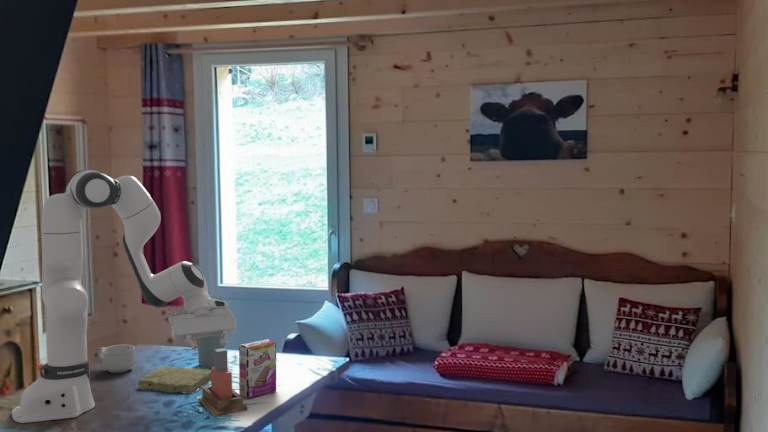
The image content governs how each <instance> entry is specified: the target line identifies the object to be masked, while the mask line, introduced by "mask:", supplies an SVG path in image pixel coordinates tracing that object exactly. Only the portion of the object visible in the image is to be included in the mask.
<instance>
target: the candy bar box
mask: <svg viewBox="0 0 768 432" xmlns="http://www.w3.org/2000/svg"><path fill="white" fill-rule="evenodd" d="M238 365H239V367H238V368H239V369H238V371H239V372H238V377H239V378H238V380H239V382H238V383H239V386H238V387H239V389H238V390H239V393H238V394H239V395H240V396H242V397H243V399H246V400H249V399H253V398H256V397H261V396H264V395H268V394H272V393H275V392H276V391H277V341H275V340H272V339H268V338H267V339H263V340H262V339H261V340H256V341H252V342H247V343H241V344H239V345H238Z"/></svg>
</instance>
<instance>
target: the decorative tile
mask: <svg viewBox="0 0 768 432" xmlns="http://www.w3.org/2000/svg"><path fill="white" fill-rule="evenodd" d="M209 381H210V382H211V369H204V368H192V367H191V368H189V367H188V368H187V367H172V366H162V367H159V368H157V369H155V370H152V371H151V372H149V373H148V374H146V375H144V376H143V377H141V378H140V379H139V380H138V384H137V389H138V388H139V389H138V390H151V389H155V390H154V391H159V390H162V391H161V392H163V391H169V392H168V393H175V392H185V393H184V394H193V393H195V392H196V391H198V390H199V389H201V388H202V387H201V386H203V385H204V384H205V385H206V383H207V384H208V383H210V382H209ZM205 385H204V386H205ZM204 386H203V387H204ZM200 387H201V388H200ZM198 388H199V389H198ZM197 389H198V390H197ZM194 391H195V392H194ZM192 392H193V393H192Z"/></svg>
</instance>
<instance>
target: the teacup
mask: <svg viewBox="0 0 768 432" xmlns="http://www.w3.org/2000/svg"><path fill="white" fill-rule="evenodd" d="M135 349H136V348H135V345H133V344H124V343H123V344H114V345H110V346H107V347H105V346H104V347H103V346H102V347H100V348H98V351H97V355H98V356H99V358H100V360H102V361H103V363H102V364H103V367H104V368H105V370H107V371H108V372H110V373H111V374H122V373H125V372H128V371H129V370H131V369H132V368H133V366H134V365H135V363H136V361H135V360H136V353H135V351H136V350H135Z"/></svg>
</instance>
